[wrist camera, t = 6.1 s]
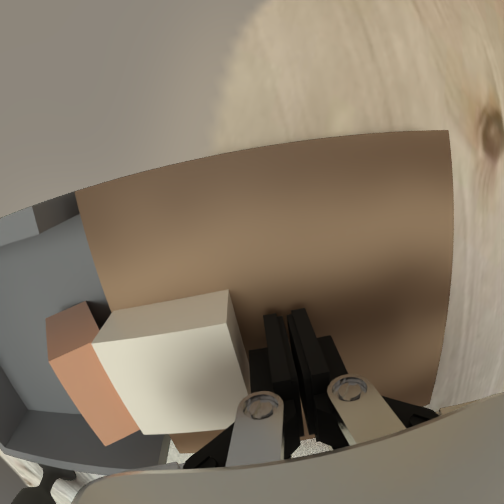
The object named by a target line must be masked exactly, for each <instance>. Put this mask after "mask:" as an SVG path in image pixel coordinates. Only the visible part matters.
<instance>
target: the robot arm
mask: <svg viewBox="0 0 504 504" xmlns="http://www.w3.org/2000/svg"><path fill="white" fill-rule="evenodd" d="M263 320H264V327H265V334H266V341H267V347H265V348H260V349H253V350H249V369H250V387H251V394H249V395H248V396H246V397H244V398H243V399H242V400H241V401H240V403H239V405H238V408H237V413H236V418H235V422H234V423H232V424H231V425H230V426H229V427H228V428H226V429H225V430H224V431H223V432H221V433H220V434H219V435H218V436H217V437H215V438H214V439H213V440H211V441H210V442H209V443H208V444H206V445H205V446H204V447H202V448H201V449H200V450H199V451H197V452H196V453H195V454H193V455H192V456H191V457H190V458H189V459H188V460H187V461H186V462H185V463H183V464H178V463H177V462H173V463H167V464H162V465H156V466H151V467H144V468H138V469H131V470H125V471H122V472H120V473H116V474H112V475H108V476H104V477H101V478H98V479H95V480H93V481H91V482H89V483H87V484H86V485H84V486H83V487H82V488H81V489H80V490H79V492H78V493H77V494H76V496H75V498H74V499H73V501H72V503H71V504H504V392H502V393H498V394H495V395H491V396H488V397H486V398H483V399H479V400H475V401H471V402H467V403H463V404H458V405H454V406H449V407H444V408H440V410H439V412H434V411H433V410H430V409H428V408H424V407H421V406H417V405H413V404H409V403H406V402H402V401H399V400H395V399H392V398H388V397H385V396H381V395H380V394H379V392H378V391H377V390H376V389H375V387H374V386H373V385H372V383H371V382H370V381H369V380H368V379H367V378H366V377H363V376H361V375H357V374H348V372H347V370H346V368H345V365H344V363H343V361H342V359H341V356H340V354H339V352H338V350H337V348H336V345H335V343H334V341H333V339H332V337H331V336H330V335H328V336H323V337H318V338H317V337H316V335H315V332H314V330H313V327H312V324H311V322H310V319H309V317H308V314H307V312H306V309H305V308H300V309H295V310H291V314H288V315H287V323H288V330H289V337H290V344H289V340H288V336H287V332H286V328H285V324H284V320H283V316H277V314H276V313H273V314H268V315H263ZM290 345H291V348H290ZM300 398H301V400H300ZM301 403H302V407H303V411H304V415H305V420H306V424H307V428H308V433H309V435H313V434H315V438H316V442H319V441H320V442H322V443H325V444H327V445H329V451H326V452H322V453H317V454H312V455H307V456H302V457H297V458H292V453H293V452H294V451H295V450H296V449H297V448H298V447H299V446H300V445H301V444H300V437H303V436H305V435H304V426H303V417H302V408H301Z"/></svg>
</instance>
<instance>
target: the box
mask: <svg viewBox="0 0 504 504" xmlns="http://www.w3.org/2000/svg"><path fill="white" fill-rule="evenodd" d="M80 190H81V189H80ZM77 191H78V190H77ZM84 301H86V303H87V305H88V307H89V309H90V311H91V314H92V316H93V318H94V320H95V322H96V324H97V326H98V328H99V330H100V329H101V328H102V327H103V325H104V324H105V322H106V321H107V319H108V318H109V316H110V315H111V313H112V312H111V310H110V307H109V305H108V302H107V299H106V296H105V294H104V291H103V288H102V285H101V282H100V279H99V276H98V273H97V270H96V267H95V264H94V261H93V258H92V255H91V251H90V248H89V245H88V241H87V238H86V234H85V231H84V227H83V224H82V220H81V216H80V212H79V208H78V204H77V200H76V196H75V191H74V192H71V193H68V194H65V195H62V196H59V197H56V198H53V199H50V200H47V201H44V202H41V203H38V204H36V205H33V206H30V207H28V208H25V209H22V210H19V211H17V212H14V213H12V214H9V215H6V216H4V217H1V218H0V449H1V450H2V451H3V453H4V454H6V455H9V456H13V457H16V458H20V459H23V460H27V461H31V462H35V463H39V464H43V465H48V466H52V467H57V468H62V469H67V470H73V471H78V472H85V473H91V474H98V475H106V476H108V475H112V474H116V473H120V472H122V471H125V470H131V469H138V468H144V467H151V466H156V465H162V464H166V462H167V456H168V451H169V445H170V440H171V438H170V436H169V434H150V435H144V434H143V433H142V431H141V430H138V431H136V432H134V433H132V434H130V435H128V436H126V437H124V438H122V439H120V440H118V441H116V442H114V443H112V444H109V445H107V446H105V445H104V444H103V443H102V441H101V440H100V439H99V438H98V436H97V435H96V434H95V432H94V431H93V430H92V428H91V427H90V425H89V424H88V423H87V421H86V420H85V418H84V417H83V416H82V414H81V413H80V411H79V410H78V408H77V407H76V405H75V404H74V402H73V401H72V399H71V398H70V396H69V395H68V393H67V392H66V390H65V389H64V387H63V385H62V384H61V382H60V380H59V379H58V377H57V375H56V374H55V372H54V370H53V369H52V367H51V365H50V363H49V362H48V351H47V338H46V320H45V318H48V317H50V316H52V315H54V314H57V313H59V312H61V311H63V310H66V309H68V308H70V307H73V306H75V305H77V304H79V303H82V302H84Z"/></svg>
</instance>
